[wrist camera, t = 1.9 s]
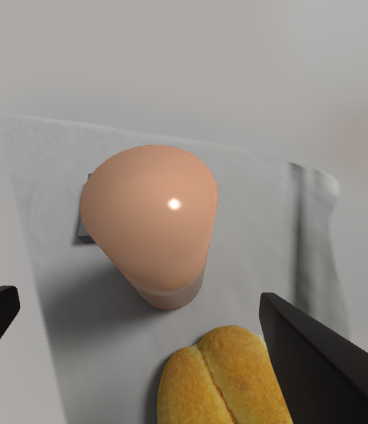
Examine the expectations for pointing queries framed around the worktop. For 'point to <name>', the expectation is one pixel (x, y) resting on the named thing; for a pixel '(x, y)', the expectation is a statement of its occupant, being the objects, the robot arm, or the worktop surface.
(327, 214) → the worktop surface
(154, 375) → the worktop surface
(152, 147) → the peach cylinder
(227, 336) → the bread roll
